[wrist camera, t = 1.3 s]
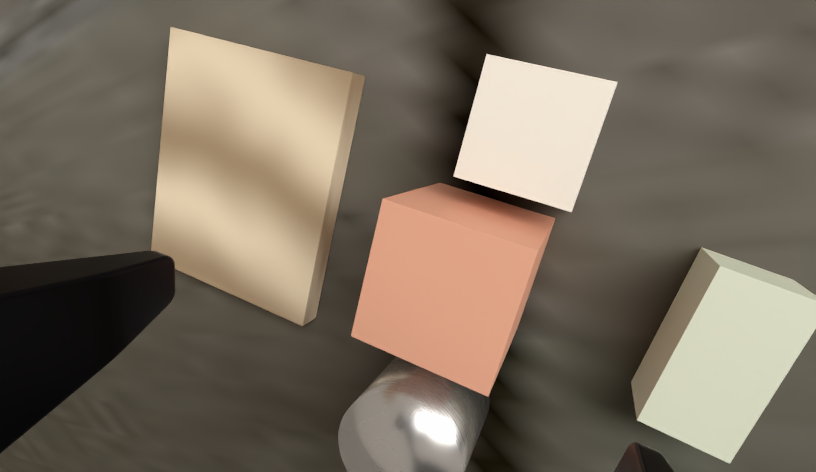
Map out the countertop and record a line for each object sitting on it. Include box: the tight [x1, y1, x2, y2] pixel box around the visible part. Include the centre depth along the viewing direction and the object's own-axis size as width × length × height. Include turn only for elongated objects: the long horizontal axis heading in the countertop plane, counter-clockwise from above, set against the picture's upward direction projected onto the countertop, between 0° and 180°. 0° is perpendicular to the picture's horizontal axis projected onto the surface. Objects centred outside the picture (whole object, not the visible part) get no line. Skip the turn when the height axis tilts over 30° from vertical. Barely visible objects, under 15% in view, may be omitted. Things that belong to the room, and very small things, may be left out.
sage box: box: [631, 247, 816, 463], centre depth 16 cm, size 6×3×3 cm, turn 162°
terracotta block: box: [351, 183, 555, 397], centre depth 18 cm, size 5×5×6 cm
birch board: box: [151, 27, 365, 326], centre depth 23 cm, size 12×10×1 cm
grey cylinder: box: [338, 356, 490, 472], centre depth 20 cm, size 5×5×5 cm
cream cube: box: [453, 54, 617, 212], centre depth 17 cm, size 4×4×4 cm
